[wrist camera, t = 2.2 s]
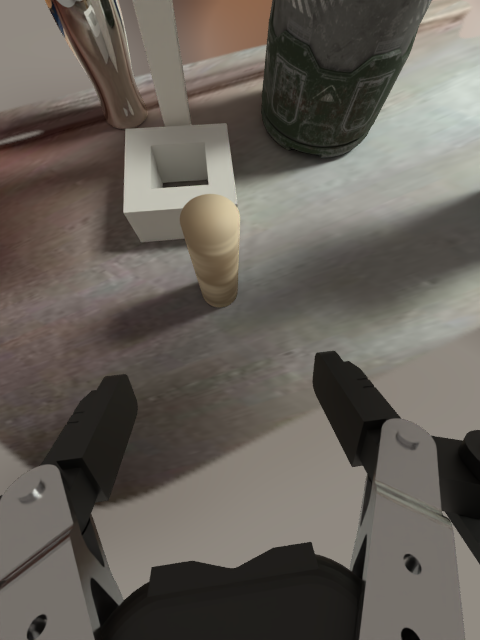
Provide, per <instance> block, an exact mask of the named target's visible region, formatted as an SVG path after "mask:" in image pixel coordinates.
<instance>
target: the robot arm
mask: <svg viewBox="0 0 480 640" xmlns="http://www.w3.org/2000/svg"><path fill="white" fill-rule="evenodd" d="M313 388H314V391H315V394H316V396H317V398H318V400H319V402H320V404H321V406H322V408H323V410H324V412H325V414H326V416H327V418H328V420H329V422H330V424H331V426H332V428H333V430H334V432H335V434H336V436H337V438H338V440H339V442H340V444H341V446H342V448H343V450H344V452H345V454H346V456H347V458H348V460H349V462H350V464H351V466H352V467H356V466H364V468H365V470H366V472H367V477H366V481H365V487H364V494H363V500H362V506H361V513H360V519H359V525H358V531H357V536H356V540H355V545H354V549H353V554H352V559H351V565H350V570H349V569H347V568H346V567H344V566H343V565H341V564H339V563H337V562H335V561H334V560H332V559H329V558H326V557H324V556H320V555H316V554H315V553H314V550H313V546H312V543H311V542H307V543H301V544H295V545H288V546H283V547H276V548H272V549H270V550H268V551H267V552H265V553H263V554H261V555H259V556H257V557H255V558H254V559H252V560H250V561H248V562H246V563H244V564H243V565H241V566H239V567H237V568H225V567H220V566H215V565H210V564H206V563H200V562H195V561H188V562H181V563H175V564H170V565H163V566H156V567H152V569H151V576H150V581H149V582H148V583H146V584H144V585H143V586H142V587H140V588H139V589H137V590H136V591H135V592H133V593H132V594H131V595H130V596H129V597H127V598H126V599H125V600H123V597H122V594H121V592H120V590H119V587H118V585H117V583H116V581H115V580H114V578H113V576H112V573H111V571H110V568H109V565H108V562H107V560H106V556H105V554H104V550H103V547H102V544H101V541H100V538H99V535H98V532H97V529H96V526H95V523H94V520H93V517H92V515H91V512H92V509H93V507H94V504H95V502H101V501H108V500H109V497H110V494H111V491H112V488H113V485H114V482H115V479H116V476H117V473H118V470H119V467H120V464H121V461H122V458H123V455H124V452H125V449H126V446H127V443H128V440H129V437H130V434H131V431H132V428H133V425H134V422H135V419H136V416H137V410H138V406H137V400H136V397H135V395H134V392H133V389H132V387H131V384H130V381H129V378H128V376H127V375H126V374H122V375H113V376H106V377H104V378H103V380H102V382H101V383H100V385H99V387H98V389H97V390H93V391H91V392H90V393H89V394H88V395H87V396H86V397H84V398H83V399H82V400H81V401H80V403H79V404H78V406H77V408H76V409H75V411H74V412H73V415H72V416H71V417H70V419H69V420H68V422H67V425H65V427H64V429H63V430H62V432H61V433H60V435H59V437H58V438H57V440H56V441H55V443H54V445H53V446H52V448H51V449H50V451H49V453H48V454H47V456H46V457H45V459H44V461H43V462H42V464H41V465H40V466H38V467H36V468H33V469H31V470H29V471H28V472H26V473H24V474H23V475H22V476H20V477H19V478H18V479H17V480H15V481H14V482H13V483H12V484H11V485H10V486H9V488H8V489H7V490H6V492H5V493H4V494H3V495H1V496H0V640H465V632H464V623H463V614H462V605H461V595H460V586H459V578H458V568H457V559H456V549H455V540H454V532H453V527H452V524H451V522H452V523H453V525H454V526H455V528H456V529H457V531H458V532H459V534H460V535H461V537H462V538H463V540H464V541H465V543H466V544H467V546H468V547H469V549H470V550H471V552H472V553H473V555H474V556H475V558H476V559H477V561H478V562H479V564H480V430H474V431H470V432H469V433H467V434H466V436H465V438H464V440H463V441H461V440H455V439H448V438H442V437H435V436H431V435H430V434H429V433H428V432H426V430H424V429H423V428H421V427H420V426H419V425H417V424H415V423H413V422H411V421H408V420H404V419H401V418H400V417H399V415H398V414H397V413H396V412H395V410H394V409H393V408H392V407H391V406H390V404H389V403H388V402H387V401H386V400H385V398H384V397H383V396H382V395H381V394H380V392H379V391H378V390H377V389H376V388H374V385H373V384H372V382H371V381H370V380H368V378H367V376H366V375H365V374H364V373H363V372H362V370H361V369H360V368H358V367H357V366H355V365H354V364H352V363H351V362H349V361H346V362H343V360H342V359H341V358H340V356H339V355H338V354H337V353H336V352H335V351H328V352H319V353H316V355H315V362H314V372H313ZM442 511H445V513H446V514H447V516H448V517H449V519H450V520H451V522H450V520H449V519H448V518H447V517H445V516H443V514H442Z"/></svg>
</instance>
